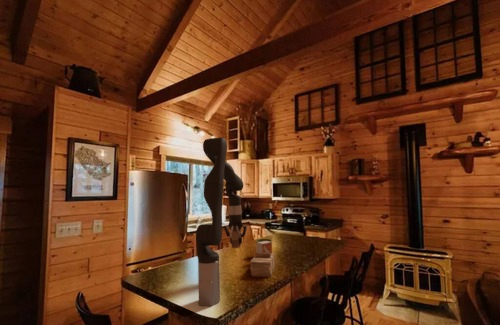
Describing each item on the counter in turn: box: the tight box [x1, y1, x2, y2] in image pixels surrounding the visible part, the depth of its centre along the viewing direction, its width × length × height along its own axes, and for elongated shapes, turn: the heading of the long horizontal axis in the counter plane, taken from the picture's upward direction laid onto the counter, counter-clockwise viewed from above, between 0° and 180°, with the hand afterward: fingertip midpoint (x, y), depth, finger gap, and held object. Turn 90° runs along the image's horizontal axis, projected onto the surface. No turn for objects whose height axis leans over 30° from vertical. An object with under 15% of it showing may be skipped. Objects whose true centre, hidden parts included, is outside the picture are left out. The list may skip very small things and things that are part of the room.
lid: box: [250, 251, 275, 264], centre depth 153 cm, size 18×11×4 cm, turn 167°
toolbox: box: [250, 256, 276, 278], centre depth 152 cm, size 18×11×7 cm, turn 167°
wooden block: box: [230, 229, 242, 249], centre depth 148 cm, size 4×4×10 cm
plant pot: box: [255, 238, 273, 244], centre depth 187 cm, size 12×12×11 cm
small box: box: [256, 241, 273, 254], centre depth 172 cm, size 8×6×13 cm
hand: (236, 243), depth 148 cm, fingers closed on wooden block, 4 cm apart
